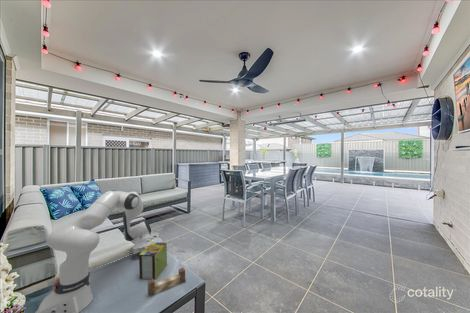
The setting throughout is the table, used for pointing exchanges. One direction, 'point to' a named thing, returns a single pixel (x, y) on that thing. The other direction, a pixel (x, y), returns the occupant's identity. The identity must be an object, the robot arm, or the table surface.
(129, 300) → the table surface
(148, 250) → the protein box
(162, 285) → the beam
